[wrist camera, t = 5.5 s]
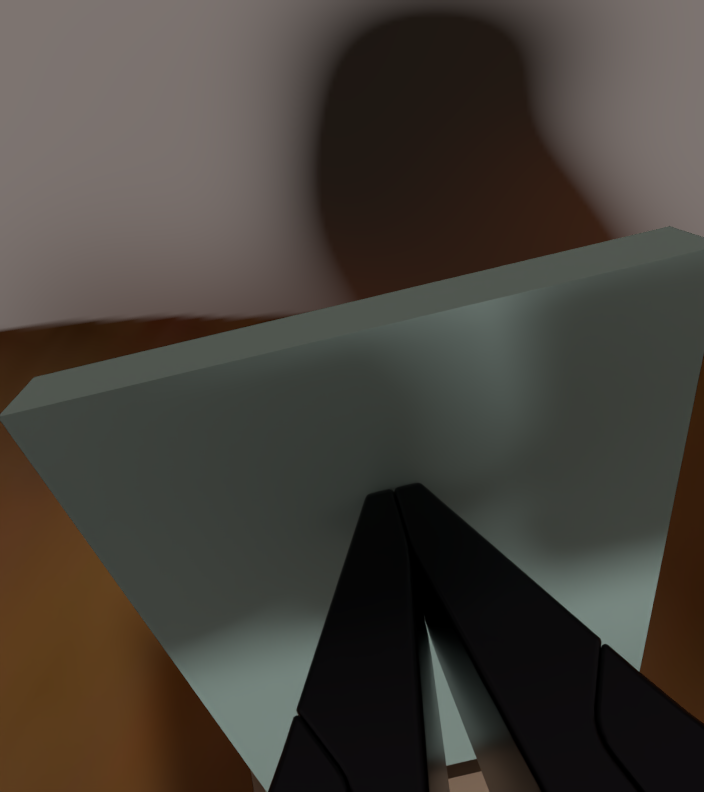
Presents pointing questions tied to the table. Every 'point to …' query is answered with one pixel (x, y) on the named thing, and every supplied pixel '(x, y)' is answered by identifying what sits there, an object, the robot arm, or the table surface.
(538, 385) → the sage green panel
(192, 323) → the table surface
